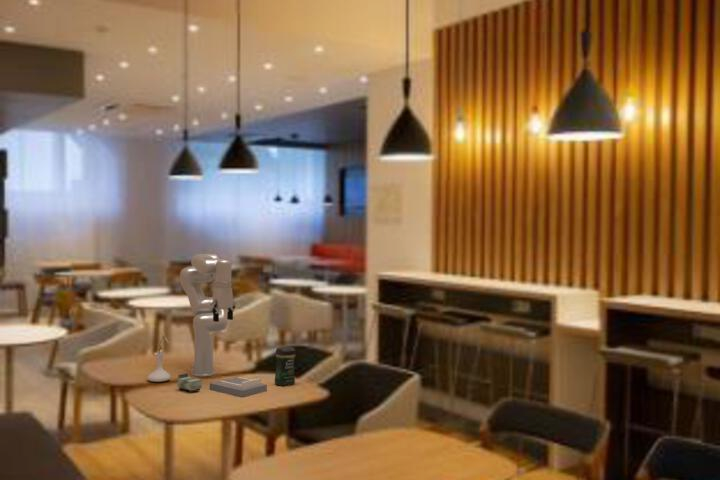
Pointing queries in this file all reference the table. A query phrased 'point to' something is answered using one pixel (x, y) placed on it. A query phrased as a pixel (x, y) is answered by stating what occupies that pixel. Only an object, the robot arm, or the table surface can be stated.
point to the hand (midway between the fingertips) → (223, 320)
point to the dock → (239, 386)
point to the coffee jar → (285, 366)
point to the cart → (189, 383)
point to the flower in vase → (159, 366)
